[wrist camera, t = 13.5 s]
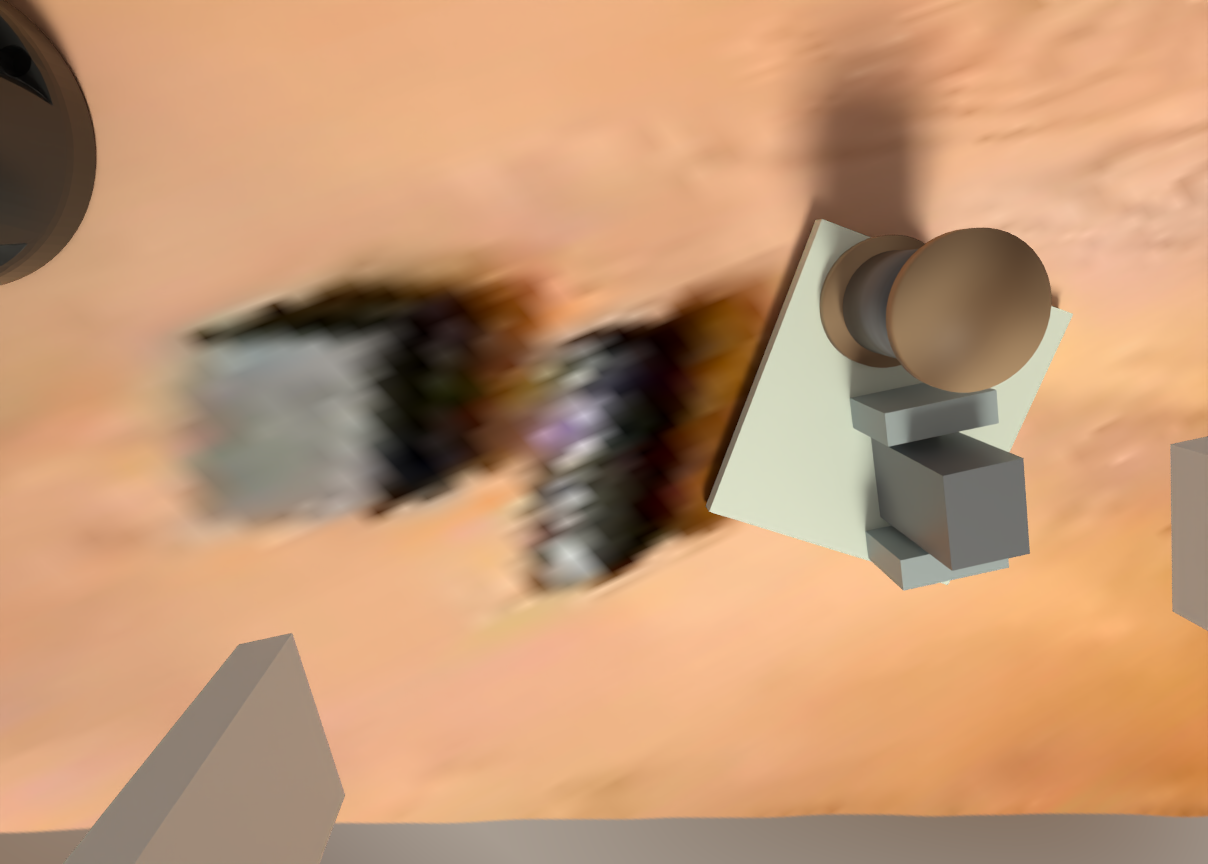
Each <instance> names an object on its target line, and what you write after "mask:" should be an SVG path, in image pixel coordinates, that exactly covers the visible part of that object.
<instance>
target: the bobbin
mask: <svg viewBox="0 0 1208 864" xmlns="http://www.w3.org/2000/svg"><path fill="white" fill-rule="evenodd" d="M819 307H820V318H821V323H822V326H823V329H824V332H825V334H826V336H827V338H828V339H829V341H830V342H831V344H832V345H833V346H834V347H835V348H836V349H837V351H839V352H840V353H841V354H842V355H843V356H845V357H847V358H848V359H850V360H852V361H855V362H857V363H860V364H863V365H867V366H870V367H877V368H888V367H895V366H899V365H902V366H903V367H904V369H905V370H906V371H907V372H908V373H910V374H911V375H912V376H913V377H914V378H916V379H918V380H919V381H921V382H923V383H925V384H927V385H930V386H932V387H935V388H939V389H942V390H946V391H950V392H958V393H970V392H976V391H981V390H985V389H989V388H991V387H993V386H996V385H998V384H1000V383H1002V382H1004V381H1005V380H1007V379H1009V378H1010V377H1011V376H1013V375H1014V374H1016V373H1017V372H1018V371H1019V370H1020V369H1021V368H1022V367H1023V366H1024V365H1025V364H1026V363H1027V362H1028V361H1029V360H1030V359H1031V357H1032V356H1033V354H1034V353H1035V352H1036V350H1037V349H1038V347H1039V345H1040V343H1041V341H1042V339H1043V337H1044V335H1045V332H1046V329H1047V326H1048V322H1049V319H1050V312H1051V288H1050V283H1049V279H1048V275H1047V273H1046V270H1045V268H1044V265H1043V264H1042V262H1041V260H1040V258H1039V257H1038V256H1037V254H1036V253H1035V252H1034V251H1033V249H1032V248H1031V247H1030V246H1028V245H1027V244H1026V243H1025V242H1024V241H1022V240H1021V239H1019V238H1018V237H1016V236H1014V235H1012V234H1010V233H1008V232H1005V231H1002V230H998V229H992V228H969V229H961V230H955V231H952V232H948V233H945V234H943V235H940V236H938V237H936V238H934V239H932V240H931V241H929V242H927V243H926V244H924V243H923V242H921V241H919V240H917V239H914V238H911V237H908V236H902V235H885V236H877V237H873V238H869V239H866V240H864V241H861V242H859V243H857V244H856V245H854V246H852V247H851V248H849V249H848V250H847V251H845V252H844V253H843V254H842V255H841V256H840V257H839V258H838V259H837V261H836V262H835V263H834V264H833V266H832V267H831V269H830V271H829V272H828V274H827V276H826V278H825V281H824V284H823V287H822V290H821V295H820V306H819Z"/></svg>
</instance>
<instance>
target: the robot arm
mask: <svg viewBox="0 0 1208 864" xmlns="http://www.w3.org/2000/svg"><path fill="white" fill-rule="evenodd" d="M95 168H96V152H95V140H94V134H93V128H92V124H91V119H90V116H89V112H88V109H87V106H86V103H85V100H84V98H83V95H82V93H81V91H80V88H79V86H78V84H77V82H76V80H75V78H74V76H73V74H72V72H71V71H70V69H69V67H68V66H67V64H66V63H65V61H64V59H63V58H62V57H61V55H60V54H59V52H58V51H57V50H56V48H55V47H54V46H53V45H52V43H51V42H50V41H49V40H48V38H47V37H46V36H45V35H44V34H43V33H42V32H41V31H40V30H39V29H38V28H37V27H36V26H35V25H34V24H33V23H32V22H31V21H30V20H29V19H28V18H27V17H26V16H24V15H23V14H22V13H21V12H20V11H19V10H17V9H16V8H15V7H13V6H12V5H11V4H9V3H8V2H6V1H5V0H0V285H3V284H6V283H9V282H13V281H15V280H18V279H20V278H23V277H25V276H27V275H29V274H31V273H33V272H34V271H36V270H38V269H39V268H41V267H42V266H44V265H45V264H46V263H48V262H49V261H50V260H52V259H53V258H54V257H55V256H56V255H57V254H58V253H59V252H60V251H61V250H62V249H63V248H64V247H65V246H66V245H67V243H68V242H69V241H70V239H71V238H72V237H73V235H74V234H75V232H76V231H77V229H78V227H79V225H80V224H81V222H82V220H83V218H84V215H85V213H86V211H87V208H88V205H89V202H90V199H91V195H92V191H93V186H94V179H95ZM1171 524H1172V604H1173V612H1175V613H1177V614H1179V615H1180V616H1182V617H1184V618H1186V619H1188V620H1189V621H1191V622H1193V623H1195V624H1197V625H1198V626H1200V627H1202V628H1204V629H1206V630H1207V631H1208V437H1203V438H1198V439H1194V440H1189V441H1184V442H1180V443H1175V444H1171ZM344 797H345V793H344V790H343V787H342V784H341V781H340V778H339V775H338V772H337V769H336V766H335V763H334V760H333V757H332V754H331V751H330V747H329V744H328V741H327V738H326V735H325V732H324V729H323V726H322V723H321V720H320V717H319V714H318V711H317V708H316V705H315V702H314V698H313V695H312V692H311V689H310V686H309V683H308V680H307V677H306V674H305V671H304V668H303V665H302V662H301V659H300V656H299V653H298V649H297V646H296V643H295V640H294V637H293V634H292V633H290V634H286V635H281V636H276V637H272V638H267V639H262V640H258V641H253V642H248V643H244V644H239V645H238V646H237V647H236V649H235V650H234V651H233V652H232V654H231V655H230V656H229V657H228V659H227V660H226V661H225V662H224V664H223V665H222V666H221V667H220V668H219V670H218V671H217V672H216V673H215V675H214V676H213V677H212V678H211V680H210V681H209V682H208V683H207V685H206V686H205V687H204V688H203V690H202V691H201V692H200V693H199V695H198V696H197V697H196V698H195V700H194V701H193V702H192V703H191V705H190V706H189V707H188V708H187V710H186V711H185V712H184V713H183V715H182V716H181V717H180V718H179V719H178V721H177V722H176V723H175V724H174V726H173V727H172V728H171V729H170V731H169V732H168V733H167V734H166V736H165V737H164V738H163V739H162V741H161V742H160V743H159V744H158V746H157V747H156V748H155V749H154V751H153V752H152V753H151V754H150V756H149V757H148V758H147V759H146V761H145V762H144V763H143V764H142V766H141V767H140V768H139V769H138V770H137V772H136V773H135V774H134V775H133V777H132V778H131V779H130V780H129V782H128V783H127V784H126V785H125V787H124V788H123V789H122V790H121V792H120V793H119V794H118V795H117V797H116V798H115V799H114V800H113V802H112V803H111V804H110V805H109V807H108V808H107V809H106V810H105V812H104V813H103V814H102V815H101V817H100V818H99V819H98V820H97V821H96V823H95V824H94V825H93V826H92V828H91V829H90V830H89V831H88V833H87V834H86V835H85V837H84V838H83V839H82V840H81V841H80V843H79V844H78V845H77V847H76V848H75V849H74V850H73V851H72V853H71V854H70V855H69V856H68V858H67V859H66V860H65V861H64V863H63V864H319V863H320V861H321V858H322V855H323V853H324V850H325V847H326V844H327V842H328V839H329V837H330V834H331V831H332V829H333V826H334V823H335V821H336V818H337V815H338V813H339V810H340V807H341V805H342V802H343V799H344Z"/></svg>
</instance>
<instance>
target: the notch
mask: <svg viewBox="0 0 1208 864" xmlns="http://www.w3.org/2000/svg"><path fill="white" fill-rule="evenodd" d="M850 406H851V415H852V423H853V428H854V429H856V430H858V431H860V432H862V433H863V434H865V435H867V436H869V437H871V438H873V439H875V440H877V441H878V442H880V443H882V444H884V445H886V446H888V447H889V446H894V445H899V444H903V443H908V442H913V441H917V440H922V439H927V438H932V437H936V436H941V435H946V434H950V433H955V432H960V431H965V430H969V429H974V428H979V427H983V426H988V425H993V424H998V423H999V418H998V404H997V390H995V389H991V388H989V389H985V390H981V391H976V392H970V393H958V392H950V391H946V390H942V389H939V388H935V387H932V386H930V385H927V384H925V383H919V384H914V385H910V386H905V387H900V388H895V389H891V390H886V391H881V392H876V393H871V394H867V395H862V396H857V397H852V398H850ZM865 533H866V542H867V550H868V559H870V560H871V561H872V562H873V563H874V564H875V565H876V566H877V567H878V568H879V569H881V570H882V571H883V572H884V573H885V574H886V575H887V576H888V577H889V578H890V579H892V580H893V581H894V582H895V583H896V584H897V585H898V586H899V587H900V588H901V589H902V590H908V589H913V588H917V587H922V586H926V585H931V584H935V583H940V582H945V581H949V580H954V579H958V578H963V577H967V576H972V575H977V574H981V573H986V572H990V571H995V570H999V569H1004V568H1009V563H1008V558H1007V559H1003V560H998V561H994V562H989V563H985V564H981V565H976V566H972V567H967V568H963V569H958V570H954V571H951V570H950V569H949V568H947V567H946V566H945V565H944V564H942V563H941V562H940V561H938V560H937V559H936V558H934V557H933V556H932V555H930V554H929V553H928V552H926V551H925V550H924V549H922V548H921V547H920V546H918V545H917V544H916V543H914V542H913V541H912V540H910V539H909V538H908V537H906V536H905V535H904V534H902V533H901V532H900V531H898V530H897V529H896V528H894V527H893V526H892V525H891V526H887V527H882V528H878V529H873V530H868V531H865Z"/></svg>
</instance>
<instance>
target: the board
mask: <svg viewBox="0 0 1208 864" xmlns="http://www.w3.org/2000/svg"><path fill="white" fill-rule="evenodd" d="M869 238H871V237H869V236H866V235H863V234H861V233H858V232H855V231H853V230H850V229H847V228H845V227H842V226H840V225H837V224H834V223H832V222H829V221H826V220H824V219H818V220H815V223H814V225H813V228H812V231H811V233H810V236H809V238H808V241H807V244H806V246H805V249H804V251H803V254H802V257H801V259H800V262H799V264H798V267H797V270H796V272H795V275H794V277H793V280H792V283H791V285H790V288H789V290H788V293H787V296H786V298H785V301H784V303H783V306H782V309H781V311H780V314H779V317H778V319H777V322H776V324H775V327H774V330H773V332H772V335H771V337H770V340H769V343H768V345H767V348H766V350H765V353H764V356H763V358H762V361H761V363H760V366H759V369H758V371H757V374H756V376H755V379H754V382H753V384H752V387H751V389H750V392H749V395H748V397H747V400H746V402H745V405H744V408H743V410H742V413H741V415H740V418H739V421H738V423H737V426H736V428H735V431H734V434H733V436H732V439H731V442H730V444H729V447H728V449H727V452H726V455H725V457H724V460H723V462H722V465H721V468H720V470H719V473H718V475H717V478H716V481H715V483H714V486H713V488H712V491H711V494H710V496H709V499H708V501H707V504H706V507H707V509H708V510H709V512H712V513H716V514H719V515H722V516H725V517H729V518H732V519H735V520H738V521H742V522H745V523H748V524H751V525H755V526H758V527H761V528H764V529H767V530H771V531H774V532H777V533H780V534H784V535H787V536H790V537H793V538H797V539H800V540H803V541H806V542H810V543H813V544H816V545H819V546H823V547H826V548H829V549H832V550H836V551H839V552H842V553H845V554H849V555H852V556H855V557H858V558H862V559H865V560H868V561H871V560H870V559H868V550H867V542H866V533H865V531H868V530H873V529H878V528H882V527H887V526H891V524H889V523H888V522H887V521H885V520H884V519H883V518H881V517H880V510H879V502H878V494H877V485H876V477H875V468H874V460H873V451H872V443H871V437H869V436H867V435H865V434H863V433H862V432H860V431H858V430H856V429H854V428H853V423H852V415H851V406H850V398H852V397H857V396H862V395H867V394H871V393H876V392H881V391H886V390H891V389H895V388H900V387H905V386H910V385H914V384H919V383H923V382H921V381H919V380H918V379H916V378H914V377H913V376H912V375H911V374H910V373H908V372H907V371H906V370H905V369H904V367H903V366H902V365H899V366H895V367H888V368H877V367H870V366H867V365H863V364H860V363H857V362H855V361H852V360H850V359H848V358H847V357H845V356H843V355H842V354H841V353H840V352H839V351H837V349H836V348H835V347H834V346H833V345H832V344H831V342H830V341H829V339H828V338H827V336H826V334H825V332H824V329H823V326H822V323H821V318H820V307H819V306H820V295H821V290H822V287H823V284H824V281H825V278H826V276H827V274H828V272H829V271H830V269H831V267H832V266H833V264H834V263H835V262H836V261H837V259H838V258H839V257H840V256H841V255H842V254H843V253H844V252H845V251H847V250H848V249H849V248H851V247H852V246H854V245H856V244H857V243H859V242H861V241H864V240H866V239H869ZM1072 315H1073V314H1072V313H1069V312H1066V311H1064V310H1061V309H1058V308H1056V307H1053V306H1051V312H1050V319H1049V322H1048V326H1047V329H1046V332H1045V335H1044V337H1043V339H1042V341H1041V343H1040V345H1039V347H1038V349H1037V350H1036V352H1035V353H1034V354H1033V356H1032V357H1031V359H1030V360H1029V361H1028V362H1027V363H1026V364H1025V365H1024V366H1023V367H1022V368H1021V369H1020V370H1019V371H1018V372H1017V373H1016V374H1014V375H1013V376H1011V377H1010V378H1009V379H1007V380H1005V381H1004V382H1002V383H1000V384H998V385H996V386H993V387H991V389H995V390H997V404H998V418H999V423H998V424H993V425H988V426H983V427H979V428H974V429H969V430H965V431H960V433H962V434H965V435H967V436H970V437H972V438H975V439H977V440H980V441H982V442H984V443H987V444H989V445H992V446H994V447H997V448H999V449H1002V450H1004V451H1007V452H1010V450H1011V448H1012V445H1013V443H1014V441H1015V439H1016V437H1017V435H1018V432H1019V430H1020V428H1021V426H1022V424H1023V422H1024V419H1025V417H1026V415H1027V413H1028V411H1029V409H1030V406H1031V404H1032V402H1033V400H1034V398H1035V396H1036V393H1037V391H1038V389H1039V387H1040V385H1041V383H1042V380H1043V378H1044V376H1045V374H1046V372H1047V370H1048V367H1049V365H1050V363H1051V361H1052V359H1053V357H1054V354H1055V352H1056V350H1057V348H1058V346H1059V344H1060V341H1061V339H1062V337H1063V335H1064V333H1065V331H1066V328H1067V326H1068V324H1069V322H1070V320H1071V318H1072ZM871 562H872V561H871ZM949 582H950V580H949V581H945V582H940V583H943V584H946V585H948V584H949Z"/></svg>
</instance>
